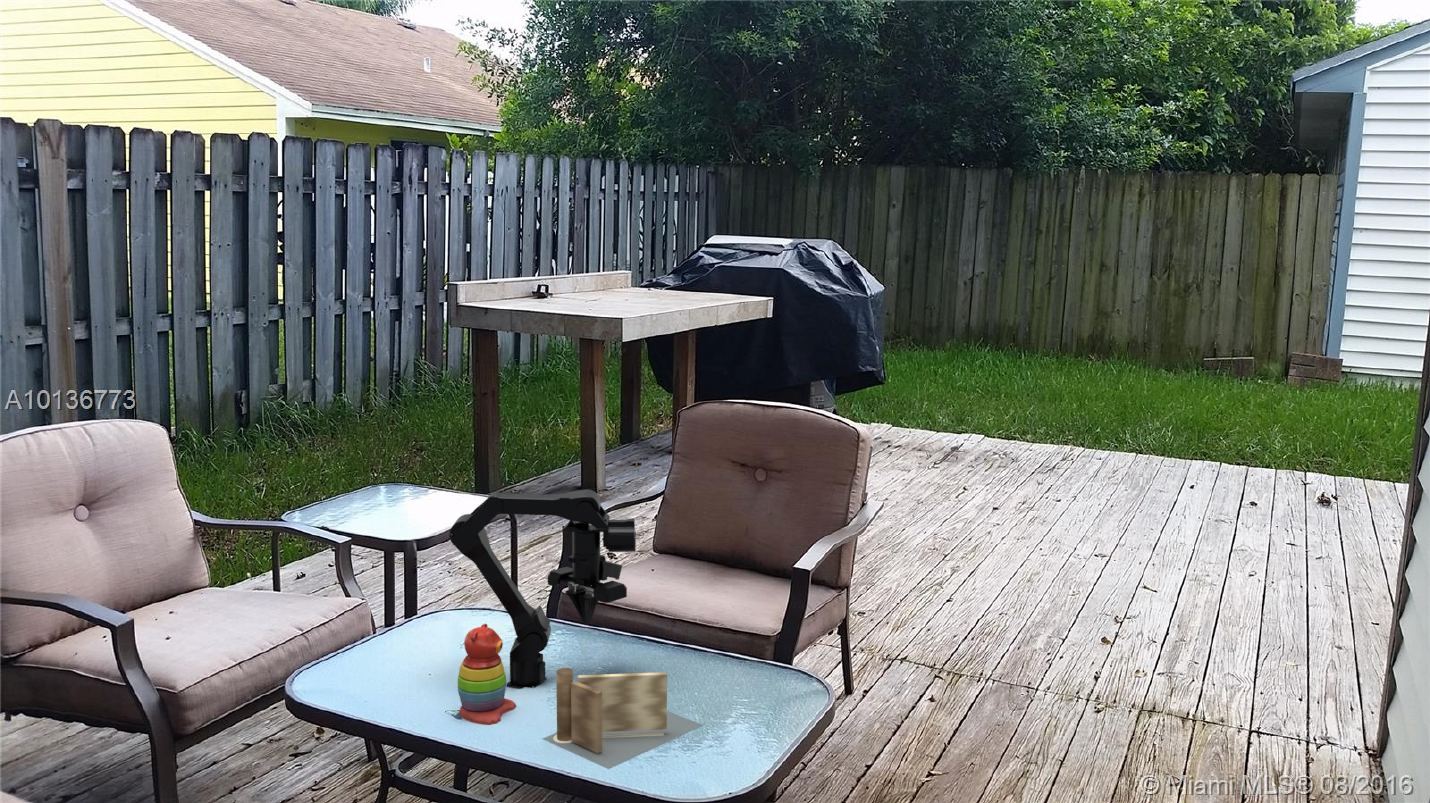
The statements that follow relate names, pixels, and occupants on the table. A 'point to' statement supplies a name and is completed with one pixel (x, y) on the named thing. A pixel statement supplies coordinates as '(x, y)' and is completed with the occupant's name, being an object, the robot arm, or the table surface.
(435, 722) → the table surface
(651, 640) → the table surface
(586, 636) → the table surface
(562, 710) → the fixed fence panel
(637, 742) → the board
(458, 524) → the robot arm
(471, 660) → the stacking bear
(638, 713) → the folding fence panel
